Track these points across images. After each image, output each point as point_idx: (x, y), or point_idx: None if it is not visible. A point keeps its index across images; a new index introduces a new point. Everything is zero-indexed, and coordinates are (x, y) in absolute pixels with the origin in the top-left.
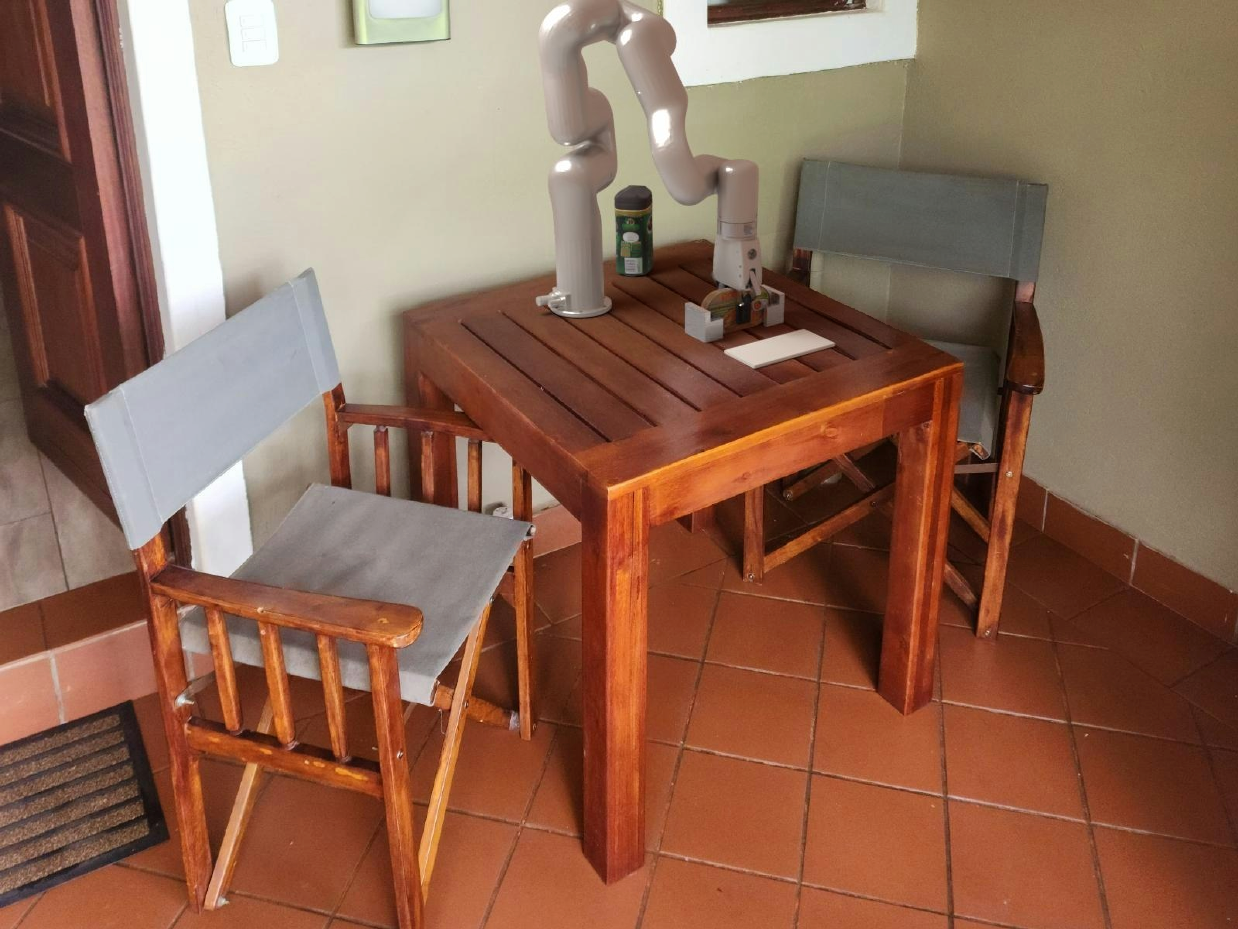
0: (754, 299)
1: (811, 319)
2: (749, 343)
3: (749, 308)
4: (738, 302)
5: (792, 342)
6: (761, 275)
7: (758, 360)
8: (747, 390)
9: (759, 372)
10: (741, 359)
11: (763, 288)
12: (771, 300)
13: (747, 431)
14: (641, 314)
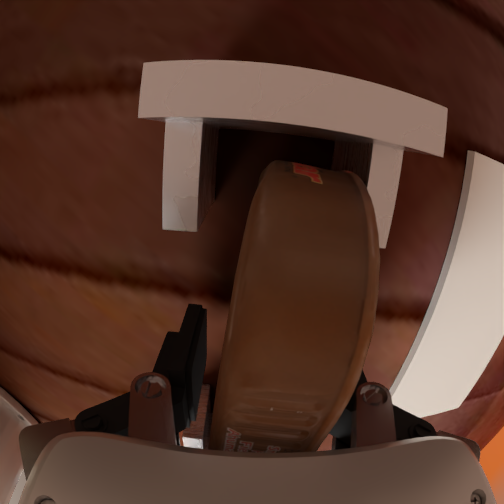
0: (416, 416)
1: (401, 18)
2: (405, 372)
3: (363, 377)
4: (333, 439)
5: (493, 275)
6: (494, 502)
7: (458, 394)
8: (465, 429)
9: (467, 400)
10: (427, 415)
11: (362, 270)
12: (323, 133)
13: (484, 446)
14: (45, 392)
